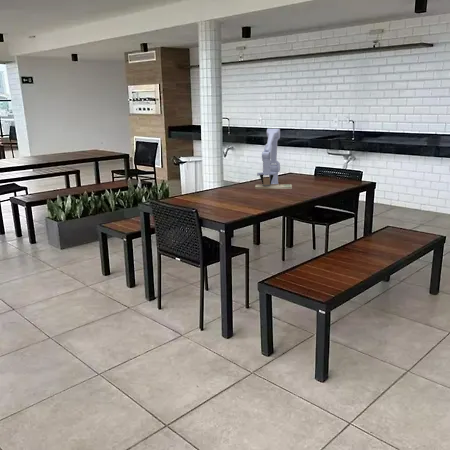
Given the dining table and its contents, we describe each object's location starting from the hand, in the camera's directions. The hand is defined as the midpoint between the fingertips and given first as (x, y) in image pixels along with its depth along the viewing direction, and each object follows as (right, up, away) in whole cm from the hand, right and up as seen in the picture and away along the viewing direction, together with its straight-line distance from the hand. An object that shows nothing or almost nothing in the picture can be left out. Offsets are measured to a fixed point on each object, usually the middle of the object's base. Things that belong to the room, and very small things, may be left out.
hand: (266, 184), depth 368 cm
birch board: (+5, -2, 0) cm, 6 cm away
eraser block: (0, 0, 0) cm, 0 cm away
